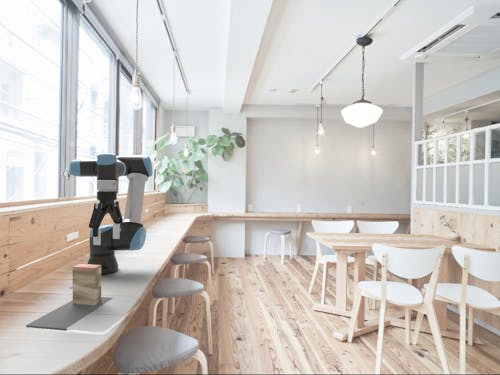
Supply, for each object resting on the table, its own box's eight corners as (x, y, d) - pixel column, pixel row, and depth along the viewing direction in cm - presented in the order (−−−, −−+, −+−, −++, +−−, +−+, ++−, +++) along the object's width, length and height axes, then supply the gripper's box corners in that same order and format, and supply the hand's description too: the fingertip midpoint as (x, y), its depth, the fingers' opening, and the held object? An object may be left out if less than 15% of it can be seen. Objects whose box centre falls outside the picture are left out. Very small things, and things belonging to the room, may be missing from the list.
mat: (81, 296, 126) (81, 295, 126) (113, 299, 124) (113, 297, 124) (26, 327, 101) (26, 325, 101) (65, 330, 99) (65, 328, 99)
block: (79, 299, 122) (79, 263, 122) (101, 301, 121) (101, 264, 120) (72, 303, 118) (72, 266, 118) (94, 305, 117) (94, 267, 116)
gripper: (96, 191, 118) (96, 248, 119) (130, 190, 143) (130, 236, 143) (78, 191, 119) (78, 247, 120) (115, 189, 144) (115, 236, 144)
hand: (107, 241), depth 131 cm, fingers open, 13 cm apart
